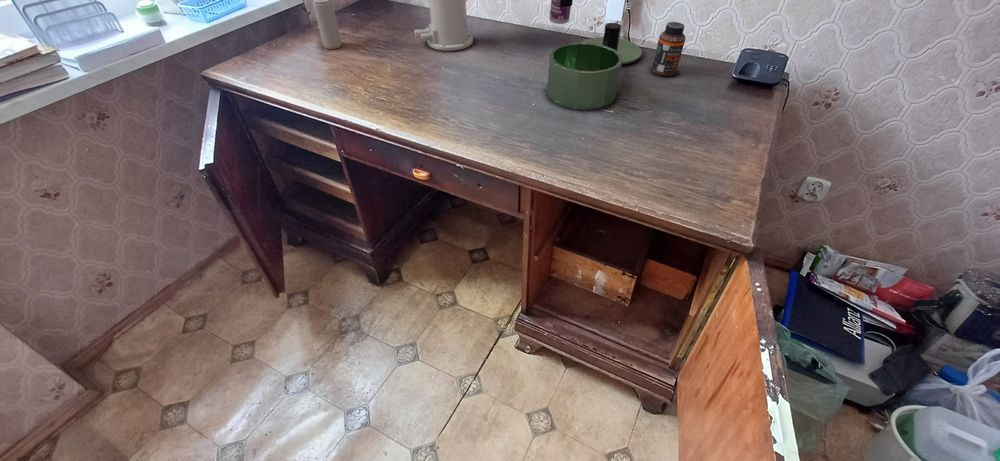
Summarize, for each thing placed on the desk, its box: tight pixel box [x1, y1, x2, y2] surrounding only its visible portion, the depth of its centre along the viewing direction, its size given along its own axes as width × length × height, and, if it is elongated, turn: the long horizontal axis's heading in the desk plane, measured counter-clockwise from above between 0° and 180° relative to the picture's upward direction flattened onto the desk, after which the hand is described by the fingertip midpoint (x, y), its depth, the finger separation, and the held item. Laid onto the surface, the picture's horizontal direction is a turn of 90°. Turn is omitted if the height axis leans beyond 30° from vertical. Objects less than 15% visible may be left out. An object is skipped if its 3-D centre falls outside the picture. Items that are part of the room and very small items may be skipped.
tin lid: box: [580, 22, 643, 65], centre depth 120 cm, size 17×17×7 cm
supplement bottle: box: [651, 21, 686, 77], centre depth 111 cm, size 6×6×11 cm
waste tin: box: [546, 42, 624, 111], centre depth 104 cm, size 16×16×8 cm
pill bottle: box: [549, 0, 572, 25], centre depth 123 cm, size 5×5×10 cm
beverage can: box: [312, 0, 343, 50], centre depth 123 cm, size 5×5×12 cm
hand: (561, 1), depth 123 cm, fingers closed on pill bottle, 5 cm apart
